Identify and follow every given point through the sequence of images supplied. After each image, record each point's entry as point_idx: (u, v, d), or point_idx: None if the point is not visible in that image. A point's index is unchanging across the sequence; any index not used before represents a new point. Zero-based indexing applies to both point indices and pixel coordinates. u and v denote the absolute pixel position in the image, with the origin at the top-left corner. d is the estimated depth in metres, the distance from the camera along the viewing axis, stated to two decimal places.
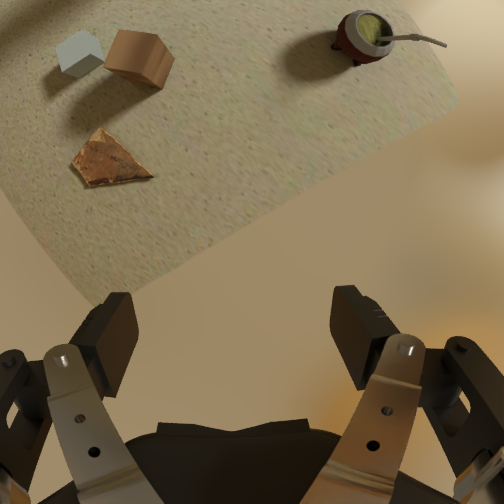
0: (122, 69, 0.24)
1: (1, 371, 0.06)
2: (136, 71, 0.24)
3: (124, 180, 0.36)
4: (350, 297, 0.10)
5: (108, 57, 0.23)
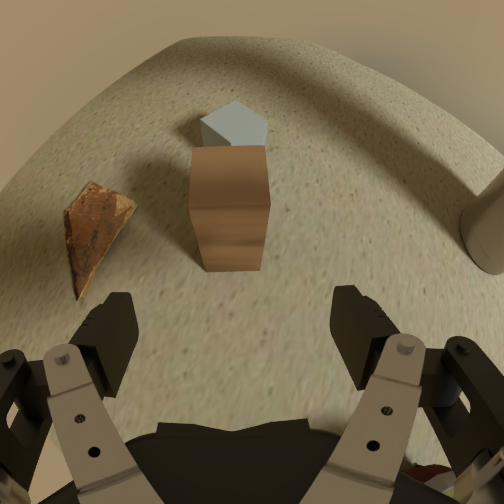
0: (191, 176, 0.17)
1: (1, 371, 0.06)
2: (190, 198, 0.16)
3: (69, 259, 0.24)
4: (350, 297, 0.10)
5: (210, 148, 0.18)
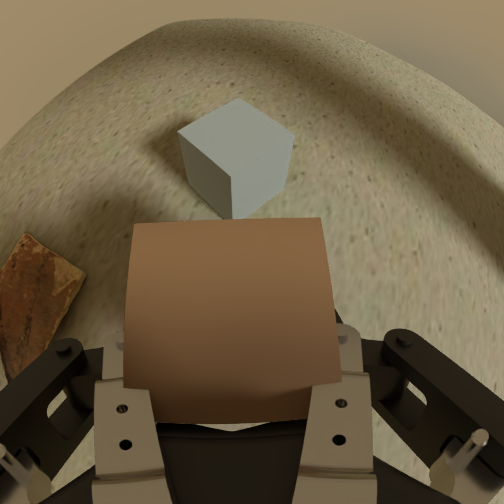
0: (129, 320, 0.06)
1: (53, 359, 0.06)
2: None
3: (1, 356, 0.13)
4: None
5: (178, 228, 0.07)
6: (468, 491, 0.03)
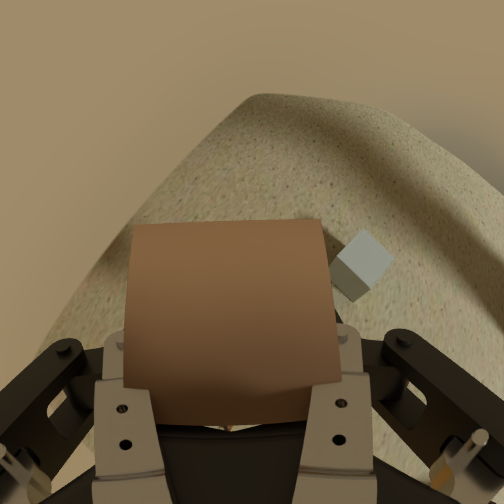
0: (129, 321, 0.06)
1: (53, 359, 0.06)
2: None
3: None
4: None
5: (178, 230, 0.07)
6: (469, 490, 0.03)
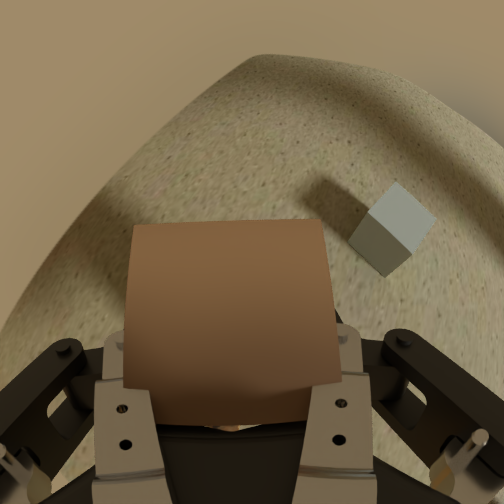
0: (128, 321, 0.06)
1: (53, 359, 0.06)
2: None
3: None
4: None
5: (178, 230, 0.07)
6: (468, 490, 0.03)
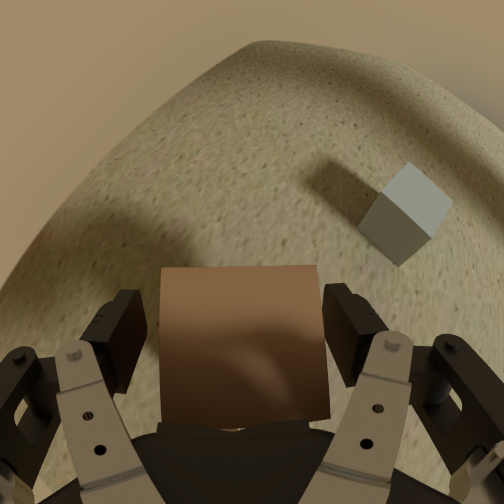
0: (162, 350, 0.08)
1: (11, 368, 0.06)
2: (165, 410, 0.07)
3: None
4: (339, 295, 0.10)
5: (200, 273, 0.08)
6: (480, 502, 0.03)
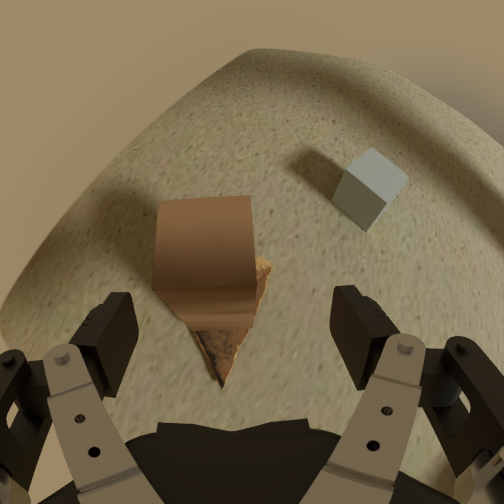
0: (157, 244, 0.13)
1: (1, 371, 0.06)
2: (155, 277, 0.13)
3: (199, 338, 0.22)
4: (350, 297, 0.10)
5: (181, 203, 0.14)
6: None
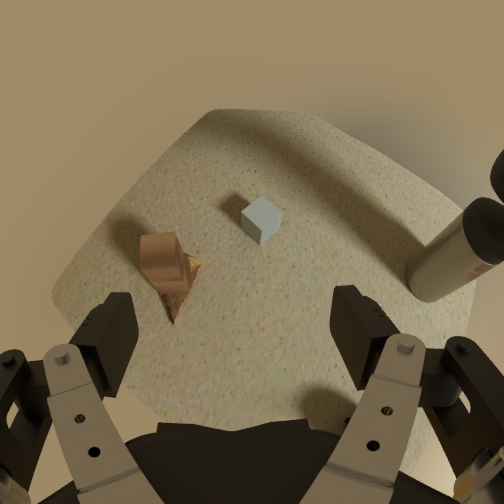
0: (140, 252, 0.36)
1: (1, 371, 0.06)
2: (139, 263, 0.35)
3: (163, 299, 0.44)
4: (350, 297, 0.10)
5: (149, 235, 0.37)
6: None
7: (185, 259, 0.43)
